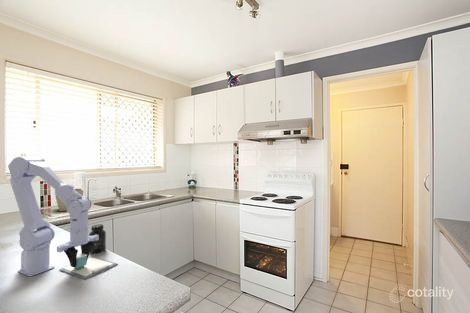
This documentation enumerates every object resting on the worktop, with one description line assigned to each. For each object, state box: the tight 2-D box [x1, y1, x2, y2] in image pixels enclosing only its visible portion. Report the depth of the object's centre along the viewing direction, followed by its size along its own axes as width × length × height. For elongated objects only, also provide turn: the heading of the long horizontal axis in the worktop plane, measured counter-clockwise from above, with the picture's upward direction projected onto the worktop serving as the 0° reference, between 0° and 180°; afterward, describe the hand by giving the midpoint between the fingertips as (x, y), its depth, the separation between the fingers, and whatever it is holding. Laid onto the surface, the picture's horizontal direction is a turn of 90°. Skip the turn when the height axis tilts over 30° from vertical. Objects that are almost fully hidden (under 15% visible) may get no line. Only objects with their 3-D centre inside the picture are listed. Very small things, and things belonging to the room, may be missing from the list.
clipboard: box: [59, 256, 118, 281], centre depth 91 cm, size 16×13×1 cm
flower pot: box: [54, 188, 85, 212], centre depth 199 cm, size 19×19×17 cm
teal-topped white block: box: [74, 252, 87, 270], centre depth 90 cm, size 4×4×5 cm
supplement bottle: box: [88, 223, 107, 255], centre depth 108 cm, size 7×7×12 cm
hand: (79, 264), depth 90 cm, fingers closed on teal-topped white block, 4 cm apart
